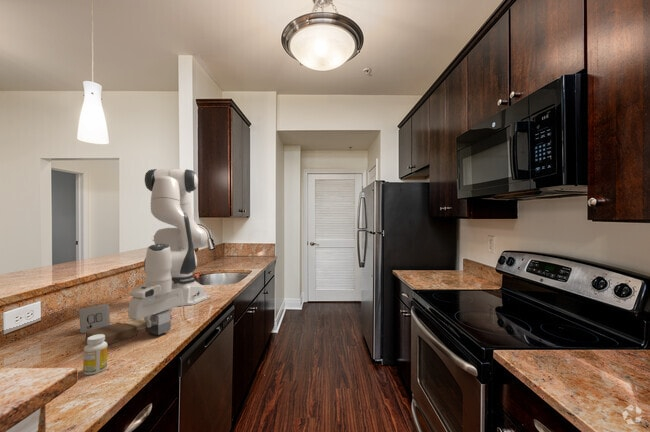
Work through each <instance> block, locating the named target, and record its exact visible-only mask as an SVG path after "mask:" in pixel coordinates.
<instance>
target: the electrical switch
mask: <svg viewBox="0 0 650 432" xmlns="http://www.w3.org/2000/svg"><path fill="white" fill-rule="evenodd" d="M78 314H79V333H80V334H81V335H82V334H86V332H89V331H92V330H95V329H98V328H102V327H105V326H108V325H111V318H110V305H109V304H108V303H103V304H98V305H94V306H88V307H82V308H79V309H78ZM88 326H89V327H88Z"/></svg>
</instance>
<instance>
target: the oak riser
mask: <svg viewBox="0 0 650 432" xmlns="http://www.w3.org/2000/svg"><path fill="white" fill-rule="evenodd" d="M123 324H128V325H132V326H136V327H137V332H138V331H140V330H143V329H146V321H145V320H144V318H141V319H138V320H133V319H131V320H129V321H128V320H127V321H125V322H123Z"/></svg>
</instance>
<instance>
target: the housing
mask: <svg viewBox="0 0 650 432" xmlns="http://www.w3.org/2000/svg"><path fill="white" fill-rule="evenodd" d="M171 316H172V312H170V311H162V312H159V313H156V314H153V315H151V318H149V319H150V320H151V321H153V322H154V323H153V326H152V327H147V322H146V328H145V333H149V334H153V335H161V334H164V333H167V332H169V331H171V324H172V323H171V320H172V319H171Z"/></svg>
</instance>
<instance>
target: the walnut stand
mask: <svg viewBox="0 0 650 432" xmlns="http://www.w3.org/2000/svg"><path fill="white" fill-rule="evenodd" d="M97 334H104V335H105V340H104V341H105V342H107V344H108V346H110V345H112V344H115V343H118V342H121V341H123V340H127V339H128V338H131V337H134V336H137V334H138V331H137V327H136V326H132V325H128V324H124V322H123V323H122V322H115V323H112V324H111V323H110V325H108V326H105V327H102V328H98V329H95V330H92V331H89V332H86V333H85V340H84V341H85V342H87V338H88V337H90V336H93V335H97Z"/></svg>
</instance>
